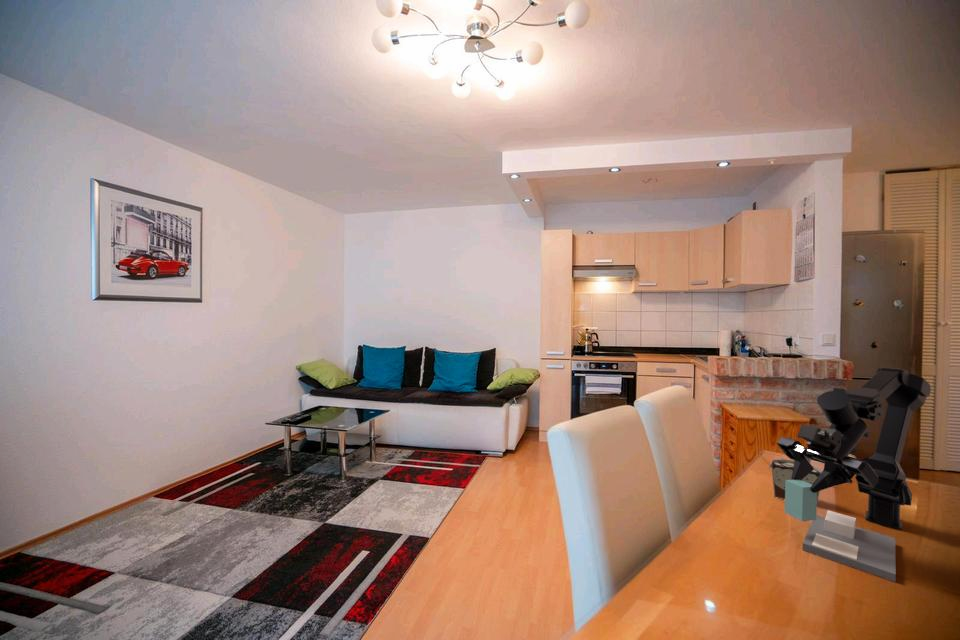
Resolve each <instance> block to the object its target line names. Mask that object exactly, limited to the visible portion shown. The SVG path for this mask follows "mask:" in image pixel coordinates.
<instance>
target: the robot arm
mask: <svg viewBox="0 0 960 640" xmlns="http://www.w3.org/2000/svg"><path fill="white" fill-rule="evenodd" d="M931 389H932V388H931V384H930V383H929V381H927V380H926V379H925V378H924V377H920V376H919V375H916V374H913V373H911V372H909V371H908V370H906V369H903V368H897V367H896V368H895V367H886V366H883V367H878V368H877V370H876V373H875V374H874V375H873V376H872V377H871V378H870V379H868V380H867V381H866V382H865V383H864V384H863V385H861V386H860V387H859V388H851V389H847V390H846V388H840V387H839V388H838V387H834V388H833V390H830V391H826V392H824V393H821V394H820V395H818V397H817V398H816V401H817V405H818V406H819V408H820V410H821V412H822V414H823V416H824V417H825V420H826V421H827V422H829V423H830V425H829V426H828V427H827V428H826V429H822V428H819V427H816V426H811V425H808V424H804V423H802V424H801V425H800V428H799V430H798V433H797V435H796V437H797V438H801V439H803V440H804V441H806V445H807V446H808V448H811V449H808V448H806V447H804V445H802V443H801V442H800V440H797V439H793V438H790V437H788V436H781V437H780V438H779V439H778V440H777V442H776V445H777V446H778V447H779V448H780V450H781V451H782V452H783V454H785V456H786V457H787V458H788V459H789V460H791V461H794V468H793V473H792V478H791V480H797V479H800V480H802V479H803V478H804V477H806V476H807V475H808V474H809V473H810V472H811V471H813V470H814V468H813V466H814V465H812V464H811V462H812V460H813V461H815V462H817V463H818V462H819V463H821V464H824V466H823V469H822V472H821V474H820V475H819V476H818V478H817V479H816V480H815V482H814V483H813V485H812V486H811V488H810V490H811V491H812V492H813V493H815V492H818V491H823V490H827V489H829V488H832V487H835V486H840V485H844V484H846V483H848V484H852V483H854V481H853V480H852V479H854V476H855V480H856V482H857V487H858V488H857V489H858V493H862V494H866V495H867V497H868V498H867V499H868V500H867V510H866V511H865V517H864V519H865V520H866V521H868V522H873V523H876V524H879V525H883V526H886V527H891V528H894V529H897V530H900V531H901V530H903V521H902V519H900V517H901V515H900V514H901V506H912V500H913V497H912V496H913V493H912V491H911V489H910V487H909V485H908V482H907V481H906V480H907V476H906V474H905V472H904V469H903V468H902V467H901V464H900V463H901V460H902V456H903V452H904V451H903V450H904V447H905V444H906V439H907V435H908V431H909V428H910V424H911V420H912V416H913V412H915V411H917V410H918V409H919V408H921V407H922V406H924V405H925V402H926V400H927V398H928V397H929V396H930V395H931ZM883 402H886V403H887V406H886V409H885V407H884V404H883ZM884 412H885V414H884ZM883 414H884V417H883V421H882V424H881V428H880V432H879V436H878V439H877V444H876V447H875V450H874V454H873V455H871V456H869V457H867V456H865V457H863V459H860V458H856V457H852V456H855V455H856V454H857V450H856V449H855V447H856V446H857V444H858V443H859V442H860V441H861V439H862V438H863V437H864V438H865V437H866V438H869V436H870V431H869V427H868V425H867V424H866V422H865V421H864V420H866V421H867V420H868V421H872V422H875V421H877V420H878V419H879V418H880V417H882V416H883ZM850 455H852V456H850Z"/></svg>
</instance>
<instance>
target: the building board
mask: <svg viewBox="0 0 960 640" xmlns="http://www.w3.org/2000/svg"><path fill="white" fill-rule="evenodd" d="M856 521H857V519H856V517H854V516H849V515H846V514H842V513H839V512H835V511H831V510H829V509H827V511H826V515H825V517H824V516H820V515H817V514H816V520H811V523H810V525H809V527H808V530H807V533H806V535H805V537H804V540H803V542H802V551H805V552H806V553H807V552H808V553H810V554H813V555H815V556H818V557H821V558H823V559H824V558H825V559H827V560H831V561H834V562H837V563H840V564H842V565H844V566H848V567H850V568H854V569H856V570H859V571H862V572H865V573H867V574H870V575H873V576H877V577H879V578H882V579H886V580H887V581H891V582H894V583H896V579H897V577H896V574H897V573H896V571H897V570H896V569H897V567H896V566H897V565H896V537H893V536H890V535H886V534H883V533H879V532H875V531H873V530H868V529H867V528H866V529H865V528H861V527H858V526H856V524H857V523H856Z"/></svg>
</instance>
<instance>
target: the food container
mask: <svg viewBox="0 0 960 640" xmlns="http://www.w3.org/2000/svg"><path fill="white" fill-rule="evenodd" d="M812 466H813V468H814V470H813V471H811V472H810V473H809V474H808V475H807V476H806V477H804V478H803V479H802V481H805V482H807V483H810V484H812V485H813V483H814V482H815V480H816V479H817V478H818V476H819V475H820V474H821V472H822V471H823V469H821V468H820V467H817V466H815V465H812ZM793 468H794V460H792V459H786V460H782V459H781V458H780V459H778V458H777V459H772V461H771V462H770V464H769V468H768V470H770V469H771V473H772V474H771V475H772V484H773V497H774V498H775V497H778V498H777V499H779V498H782V499H781V500H784V499H785V480H791V478H792V473H793ZM819 497H820V491H818V492H817V504H819V503H818V502H819Z"/></svg>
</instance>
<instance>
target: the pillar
mask: <svg viewBox="0 0 960 640" xmlns="http://www.w3.org/2000/svg"><path fill="white" fill-rule="evenodd" d="M811 486H812V484H810V483H807V482H805V481H802V480H800V479H797V480H785V500H784V513H785V514H787V515H789V516H791V517H793V518H794V519H797V520H798V521H801V522H807V521H809V522H810V521H813V520H816V515H817V507H818V503H817V492H815V493H813V492H812V491H811V490H810V488H811Z"/></svg>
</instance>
